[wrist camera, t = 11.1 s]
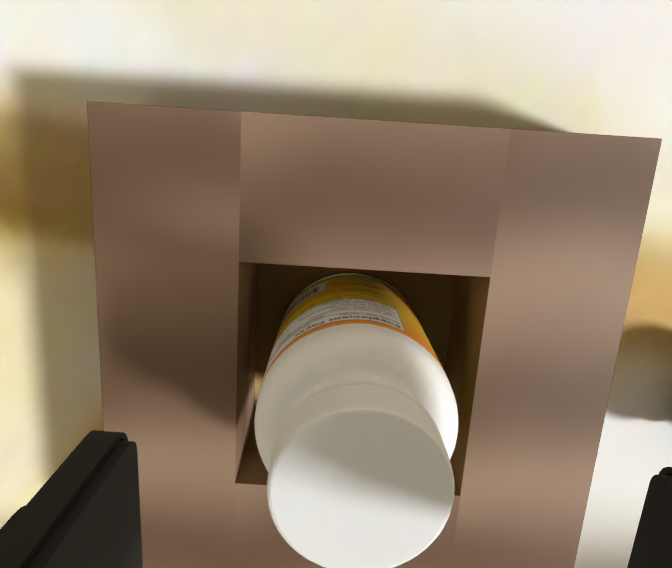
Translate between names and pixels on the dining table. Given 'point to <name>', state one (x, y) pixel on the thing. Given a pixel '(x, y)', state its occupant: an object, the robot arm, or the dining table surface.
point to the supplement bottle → (356, 427)
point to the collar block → (370, 254)
